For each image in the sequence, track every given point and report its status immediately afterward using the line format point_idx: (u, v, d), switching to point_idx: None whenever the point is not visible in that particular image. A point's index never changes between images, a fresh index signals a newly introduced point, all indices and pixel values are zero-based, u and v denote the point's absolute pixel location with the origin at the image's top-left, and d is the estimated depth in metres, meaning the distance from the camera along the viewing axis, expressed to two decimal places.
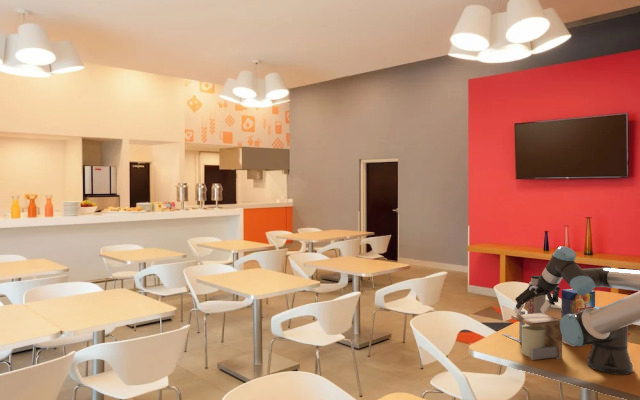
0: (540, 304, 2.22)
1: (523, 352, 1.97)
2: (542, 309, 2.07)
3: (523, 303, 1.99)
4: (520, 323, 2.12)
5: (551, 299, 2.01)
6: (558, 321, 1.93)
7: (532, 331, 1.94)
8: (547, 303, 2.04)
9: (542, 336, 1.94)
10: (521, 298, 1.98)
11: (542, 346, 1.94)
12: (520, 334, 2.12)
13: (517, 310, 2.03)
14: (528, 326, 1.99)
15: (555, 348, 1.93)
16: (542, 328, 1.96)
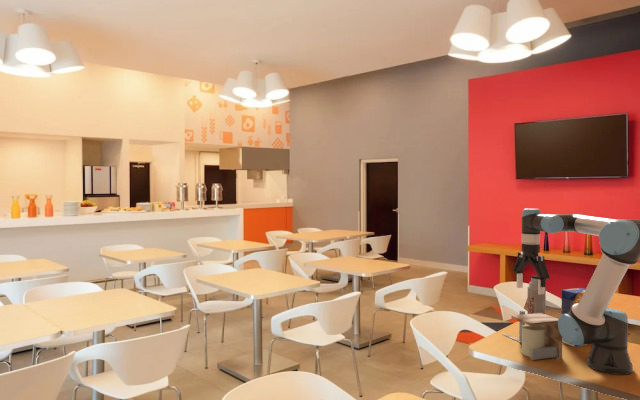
0: (540, 304, 2.22)
1: (523, 352, 1.97)
2: None
3: (517, 271, 2.14)
4: (520, 323, 2.12)
5: (537, 272, 2.01)
6: None
7: (532, 331, 1.94)
8: None
9: (542, 336, 1.94)
10: None
11: (542, 346, 1.94)
12: (520, 334, 2.12)
13: None
14: (528, 326, 1.99)
15: (555, 348, 1.93)
16: (542, 328, 1.96)
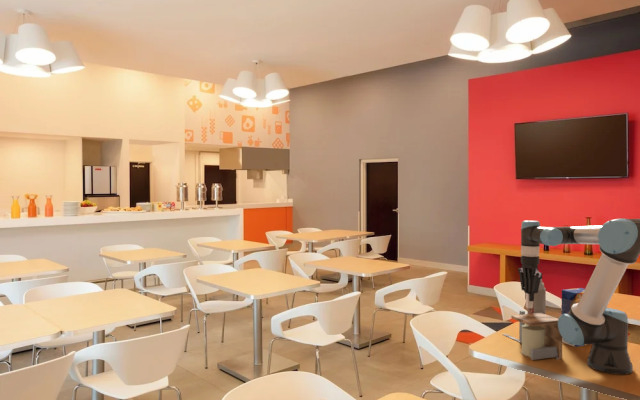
0: (540, 304, 2.22)
1: (523, 352, 1.97)
2: None
3: (525, 290, 2.08)
4: (520, 323, 2.12)
5: (529, 286, 2.06)
6: None
7: (532, 331, 1.94)
8: None
9: (542, 336, 1.94)
10: None
11: (542, 346, 1.94)
12: (520, 334, 2.12)
13: None
14: (528, 326, 1.99)
15: (555, 348, 1.93)
16: (542, 328, 1.96)
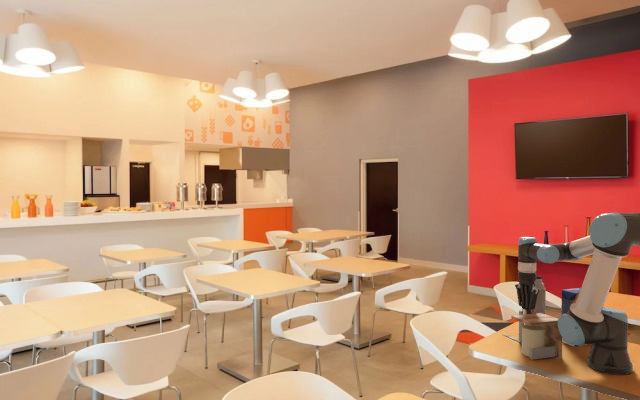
0: (540, 304, 2.22)
1: (523, 352, 1.97)
2: None
3: (522, 306, 2.10)
4: (519, 323, 2.13)
5: (526, 302, 2.08)
6: None
7: (532, 331, 1.94)
8: None
9: (542, 336, 1.94)
10: None
11: (542, 346, 1.94)
12: (520, 334, 2.12)
13: None
14: (528, 326, 1.99)
15: (554, 348, 1.93)
16: (542, 328, 1.96)
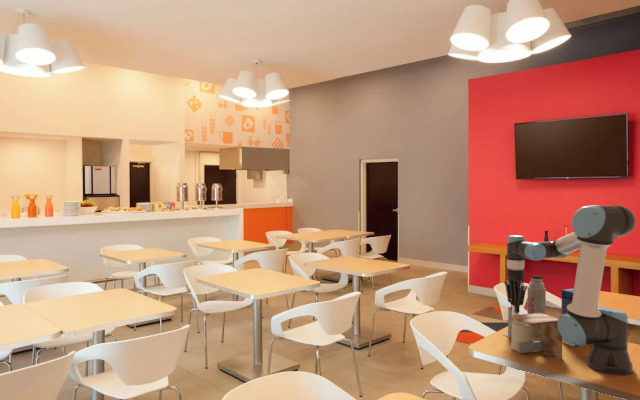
0: (540, 304, 2.22)
1: (512, 347, 2.04)
2: None
3: (511, 302, 2.17)
4: (509, 318, 2.20)
5: (515, 298, 2.15)
6: None
7: (521, 327, 2.00)
8: None
9: (531, 331, 2.00)
10: None
11: (531, 341, 2.00)
12: (509, 329, 2.20)
13: None
14: (518, 322, 2.05)
15: (541, 342, 2.00)
16: None
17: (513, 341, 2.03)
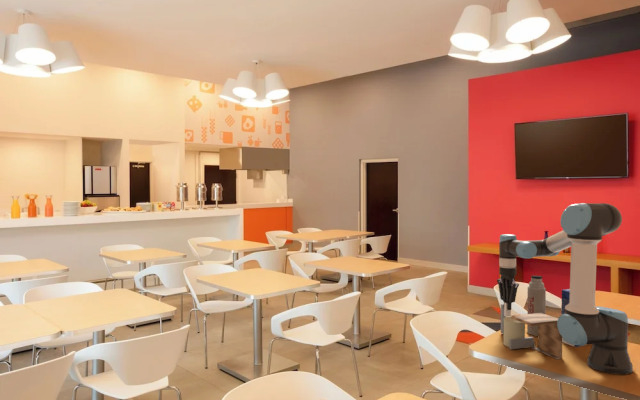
0: (540, 304, 2.22)
1: (504, 343, 2.09)
2: None
3: (504, 299, 2.22)
4: (501, 316, 2.25)
5: (507, 295, 2.20)
6: None
7: (512, 323, 2.05)
8: None
9: (522, 328, 2.05)
10: None
11: (522, 337, 2.05)
12: (502, 326, 2.25)
13: None
14: (510, 318, 2.11)
15: (532, 338, 2.05)
16: None
17: (505, 337, 2.08)
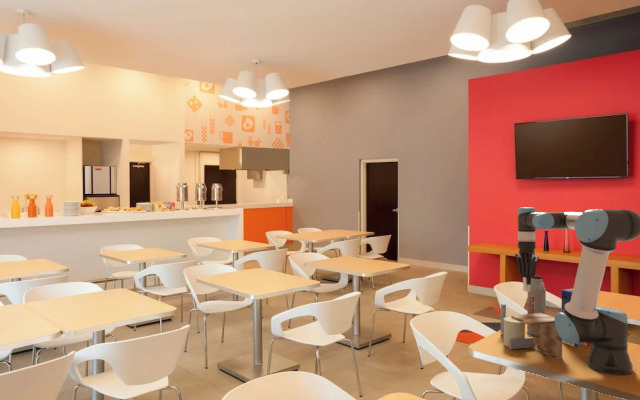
0: (540, 304, 2.22)
1: (504, 343, 2.09)
2: None
3: (523, 274, 2.17)
4: (501, 316, 2.25)
5: (526, 270, 2.15)
6: None
7: (512, 323, 2.05)
8: None
9: (522, 328, 2.05)
10: None
11: (522, 337, 2.05)
12: (502, 326, 2.25)
13: None
14: (510, 318, 2.11)
15: (532, 338, 2.05)
16: None
17: (505, 337, 2.08)
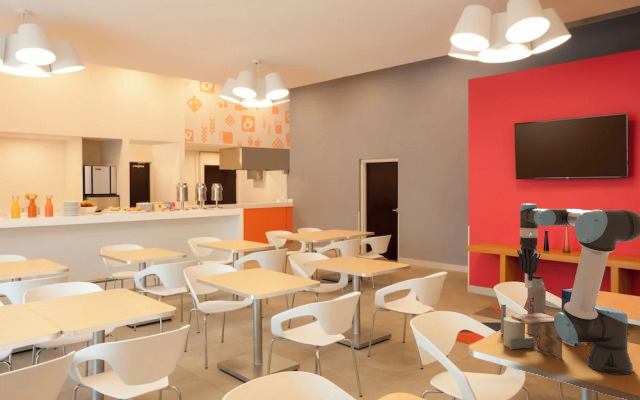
0: (540, 304, 2.22)
1: (504, 343, 2.09)
2: None
3: (524, 270, 2.17)
4: (501, 316, 2.25)
5: (528, 266, 2.15)
6: None
7: (512, 323, 2.05)
8: None
9: (522, 328, 2.05)
10: None
11: (522, 337, 2.05)
12: (502, 326, 2.25)
13: None
14: (510, 318, 2.11)
15: (532, 338, 2.05)
16: None
17: (505, 337, 2.08)
